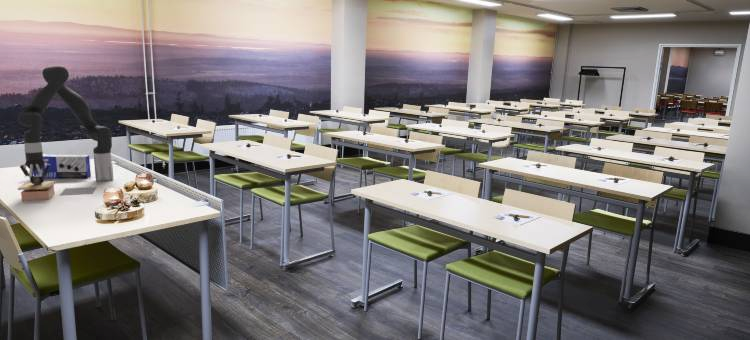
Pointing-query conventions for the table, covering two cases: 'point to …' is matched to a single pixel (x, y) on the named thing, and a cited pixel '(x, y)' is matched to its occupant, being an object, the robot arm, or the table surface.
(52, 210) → the table surface
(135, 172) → the table surface
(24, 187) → the lid
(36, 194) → the dish
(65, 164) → the ink box
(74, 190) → the mat
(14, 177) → the table surface
